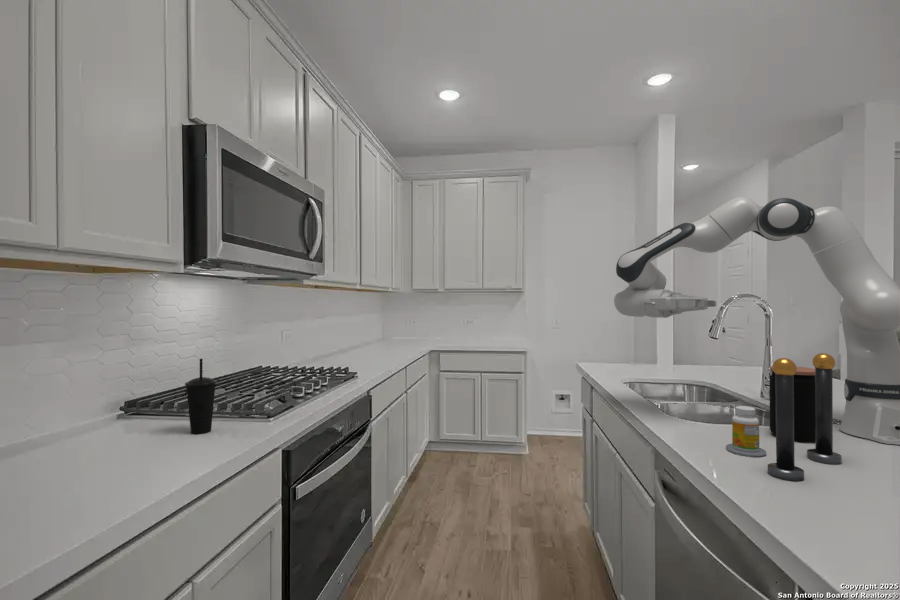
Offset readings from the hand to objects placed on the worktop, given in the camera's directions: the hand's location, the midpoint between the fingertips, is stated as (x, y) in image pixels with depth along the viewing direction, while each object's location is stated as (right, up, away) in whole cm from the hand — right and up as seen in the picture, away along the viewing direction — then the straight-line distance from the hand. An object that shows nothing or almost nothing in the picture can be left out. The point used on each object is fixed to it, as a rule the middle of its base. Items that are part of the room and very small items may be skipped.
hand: (705, 303), depth 129 cm
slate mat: (-3, -35, -22) cm, 41 cm away
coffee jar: (+17, -35, -10) cm, 41 cm away
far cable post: (+11, -35, -28) cm, 46 cm away
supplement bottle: (-3, -35, -22) cm, 41 cm away
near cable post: (-4, -35, -37) cm, 51 cm away
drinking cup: (-141, -35, -5) cm, 146 cm away
